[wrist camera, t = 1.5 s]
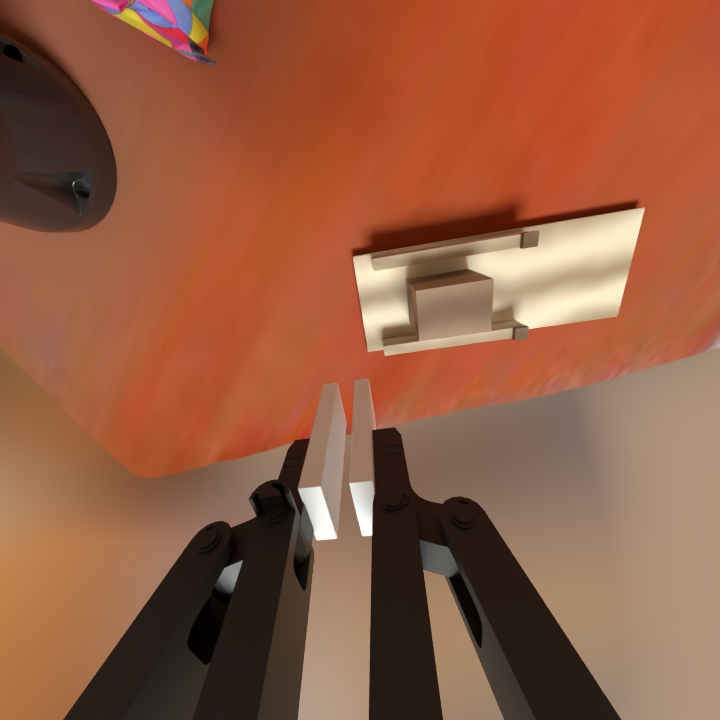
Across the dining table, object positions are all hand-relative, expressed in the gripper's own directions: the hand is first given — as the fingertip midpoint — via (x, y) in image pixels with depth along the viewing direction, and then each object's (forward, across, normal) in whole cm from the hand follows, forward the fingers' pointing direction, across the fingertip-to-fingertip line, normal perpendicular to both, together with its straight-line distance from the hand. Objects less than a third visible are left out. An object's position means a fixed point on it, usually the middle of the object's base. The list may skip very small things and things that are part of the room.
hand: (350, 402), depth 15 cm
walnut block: (+19, +10, 0) cm, 22 cm away
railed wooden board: (+20, +16, 0) cm, 26 cm away
